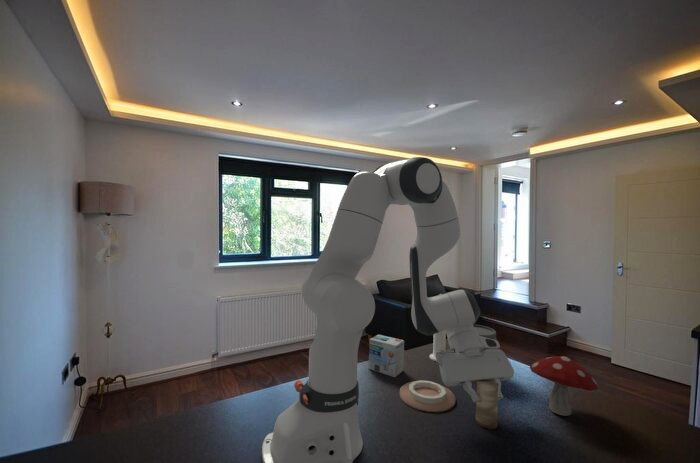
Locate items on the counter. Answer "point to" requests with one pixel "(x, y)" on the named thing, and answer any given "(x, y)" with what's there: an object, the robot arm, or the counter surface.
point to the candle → (438, 343)
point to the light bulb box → (386, 355)
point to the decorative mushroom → (563, 380)
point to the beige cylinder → (487, 404)
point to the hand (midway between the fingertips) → (488, 400)
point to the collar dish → (427, 396)
